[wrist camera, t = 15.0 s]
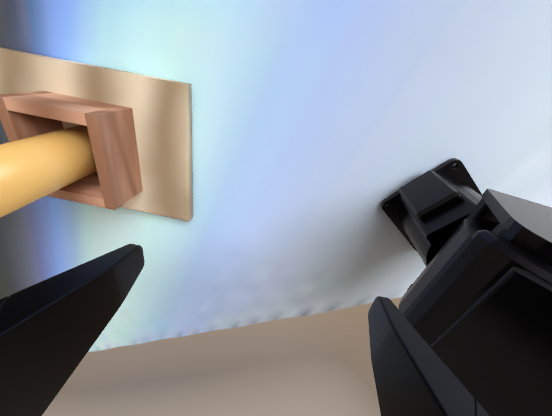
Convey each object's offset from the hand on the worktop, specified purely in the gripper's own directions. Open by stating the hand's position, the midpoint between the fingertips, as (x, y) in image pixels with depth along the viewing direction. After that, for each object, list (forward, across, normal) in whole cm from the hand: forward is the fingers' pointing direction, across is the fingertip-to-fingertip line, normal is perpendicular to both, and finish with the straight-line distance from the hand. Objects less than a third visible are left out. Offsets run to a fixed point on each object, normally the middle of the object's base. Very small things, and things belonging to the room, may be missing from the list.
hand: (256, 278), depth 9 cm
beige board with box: (+13, +16, +1) cm, 21 cm away
